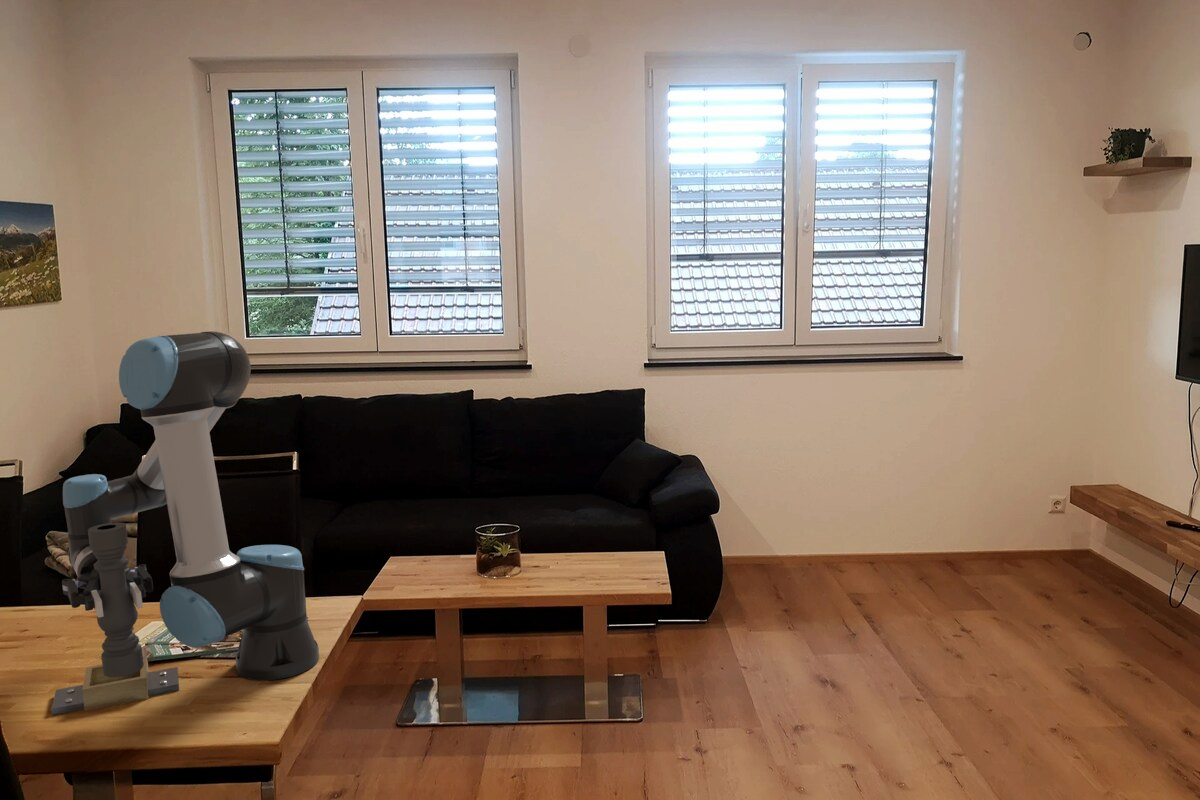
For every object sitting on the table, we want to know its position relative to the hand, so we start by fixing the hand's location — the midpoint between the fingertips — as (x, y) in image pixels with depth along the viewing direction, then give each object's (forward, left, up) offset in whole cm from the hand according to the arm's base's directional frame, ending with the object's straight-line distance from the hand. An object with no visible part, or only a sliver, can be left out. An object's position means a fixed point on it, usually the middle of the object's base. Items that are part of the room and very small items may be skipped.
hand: (119, 604), depth 151 cm
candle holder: (+4, -3, -13) cm, 14 cm away
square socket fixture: (+13, -9, -22) cm, 27 cm away
